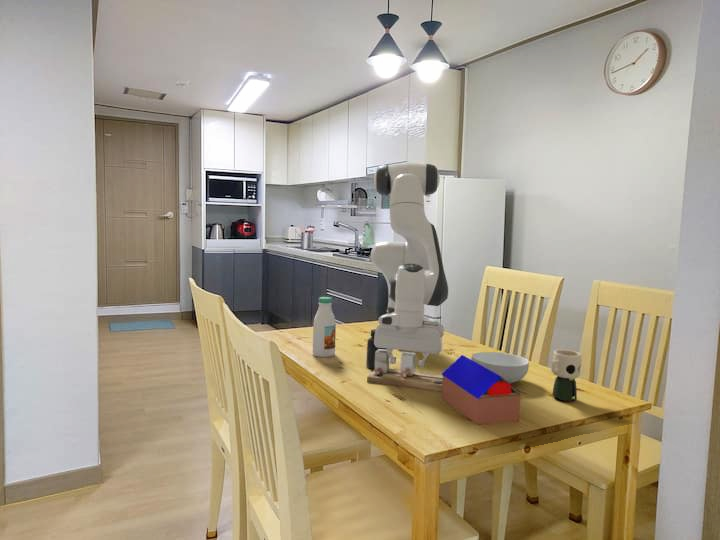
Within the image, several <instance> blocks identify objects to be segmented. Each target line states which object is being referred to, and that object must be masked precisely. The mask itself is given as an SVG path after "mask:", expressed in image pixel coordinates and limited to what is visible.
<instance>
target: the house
mask: <svg viewBox="0 0 720 540" xmlns="http://www.w3.org/2000/svg"><path fill="white" fill-rule="evenodd" d="M441 375H442V376H443V381H442V391H441V399H443V400H445V402H447V403H448V404H450V405H451V406H452V407H454V409H456V410H457V411H458V412H460V413H461V414H462V415H464V417H466V418H467V419H469V420H470V421H471V422H473V423H474V424H475V425H477V426H478V425H488V424H489V423H490V424H501V423H500V422H502V423H511V422H510V421H513V422H519V421H520V408H521V407H520V406H521V396H522V394H521V393H520V392H519V391H518V390H517V389H516V388H515V387H514V386H512V384H509V383H508V382H507V381H506V380H505V379H504V378H503V377H501V376H499V375H498V374H496V373H494V372H492V371H490V370H489V369H487V368H485V367H483V366H481V365H480V364H478V363H476V362H474V361H472V360H471V359H470V358H468V357H467V356H465V355H463V354H461V355H460V356H459V357H458V358H457V359H456V360H455V361H454V362H453V363H451V364H450V365H449V366H448V367H447V368H446V369H445V370H444V371H443V372H442V373H441Z"/></svg>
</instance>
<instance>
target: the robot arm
mask: <svg viewBox="0 0 720 540" xmlns="http://www.w3.org/2000/svg"><path fill="white" fill-rule="evenodd" d="M440 180H441V179H440V172H439V170H438V168H437V166H436V165H435V164H430V163H425V164H424V163H413V162H412V163H411V162H406V163H395V164H383V165H379V166H378V167H377V168H376V171H375V173H374V176H373V183H374V188H375V189H376V192H377V194H379V195H381V196H385V197H389V196H390V197H389V220H390V223H389V224H390V228H391V229H392V231H394V233H396V234H397V235H399V236H401V237H402V238H403V239H405V240H406V241H391V240H388V241H379V242H376V243H375V244H374V246H373V247H372V249H371V252H370V259H371V263H372V264H373V266H374V267H375V268H377V270H379V271H380V272H381V274H382V275H383V277H384V279H385V280H386V284H387V289H388V290H387V292H388V295H387V297H388V303H387V307H386V313H385V314H382V315H380V316H379V317H378V320H377V321H378V325H377V327H376V328H375V329H376V331H375V337H374V345H375V346H376V347H377V348H386V349H387V354H388V356H389V364H390V365H391V364H393V365H394V364H395V365H396V363H397V356H394V354H393V350H397V351H403V352H412V353H422V356H423V358H422V359H419V360H418V362H417V363H418V367H419V368H424V367H425V360H426V359H427V358H428V356H430V355H429V354H432V355H439V354H441V352H442V351H443V336H444V333H445V332H444V331H445V329H444V326H443V324H442V323H440V322H439V321H429V320H425V311H426V309H425V305H426V306H432V307H440V306H441V305H443V303H444V302H445V301H446V300H447V299H448V297H449V291H450V290H449V284H448V280H447V277H446V273H445V269H444V264H443V257H442V252H441V247H440V242H439V238H438V234H437V229H436V227H435V225H434V224H433V223H431V222H430V221H429V219H427V215H426V213H425V197H424V196H430V195H433V194H435V193H436V192H437V190H438V188H439V185H440ZM428 271H429V272H428ZM425 272H428V273H425Z"/></svg>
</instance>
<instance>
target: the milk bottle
mask: <svg viewBox="0 0 720 540" xmlns="http://www.w3.org/2000/svg"><path fill="white" fill-rule="evenodd" d="M317 304H318V309H317V311H316V314H315V315H314V319H313V328H312V329H313V330H312V354H313V355H314V356H315V357H318V358H320V357H321V358H330V357H333V356H335V354H336V335H337V334H336V329H337V328H336V327H337V324H336V323H337V322H336V317H335V314H334V312H333V310H332V309H333V308H332V304H333V298H332V297H330V296H320V297H318V303H317Z"/></svg>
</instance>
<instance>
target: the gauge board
mask: <svg viewBox="0 0 720 540" xmlns="http://www.w3.org/2000/svg"><path fill="white" fill-rule="evenodd" d="M400 373H401V369H397V368H396V369H395V368H390V357H389V356H388V354H387V350H384V349H378V350H377V351H376V352H375V369H373V371H371V373H369V375H368V376H367V377H366V378H367V379H366V382H367V383H373V382H375V383H374V384H381V383H382V384H381V385H388V384H390V385H389V386H396V385H398V387H405V388H412V387H413V388H414V389H421V390H428V391H437V392H442V381H443V376H442V374H440V373H439V374H438V373H430V372H421V371H415V373H414V374H413V375H412V376H407V378H404V377H402V375H400ZM413 388H412V389H413Z"/></svg>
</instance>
